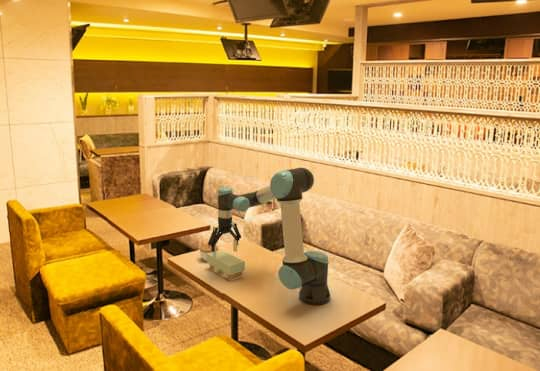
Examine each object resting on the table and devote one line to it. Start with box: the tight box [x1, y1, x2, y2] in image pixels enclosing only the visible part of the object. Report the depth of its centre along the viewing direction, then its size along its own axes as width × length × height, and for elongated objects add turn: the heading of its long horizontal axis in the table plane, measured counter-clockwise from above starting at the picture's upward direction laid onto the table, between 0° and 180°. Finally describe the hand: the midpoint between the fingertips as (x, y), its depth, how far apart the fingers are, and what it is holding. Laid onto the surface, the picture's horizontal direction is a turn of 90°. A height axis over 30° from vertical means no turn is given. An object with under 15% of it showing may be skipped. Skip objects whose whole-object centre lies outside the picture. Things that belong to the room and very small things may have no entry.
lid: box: [206, 249, 246, 275], centre depth 251 cm, size 22×10×5 cm, turn 40°
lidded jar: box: [199, 243, 219, 263], centre depth 269 cm, size 11×11×9 cm
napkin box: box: [208, 263, 243, 282], centre depth 251 cm, size 20×8×8 cm, turn 40°
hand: (224, 254), depth 250 cm, fingers open, 13 cm apart
